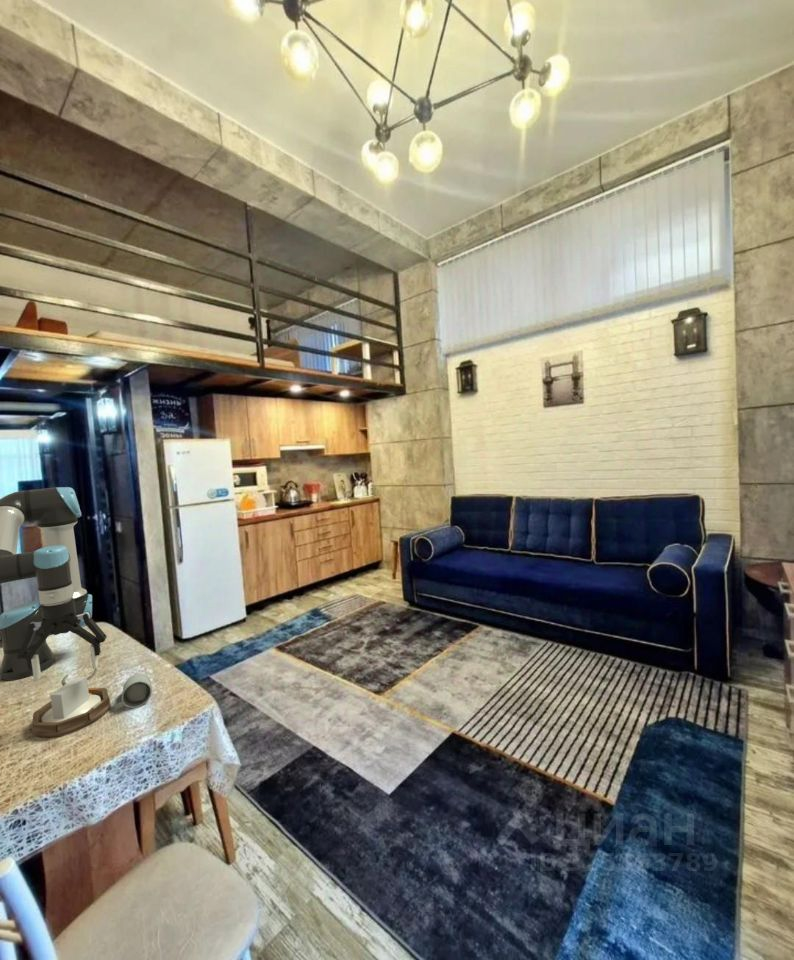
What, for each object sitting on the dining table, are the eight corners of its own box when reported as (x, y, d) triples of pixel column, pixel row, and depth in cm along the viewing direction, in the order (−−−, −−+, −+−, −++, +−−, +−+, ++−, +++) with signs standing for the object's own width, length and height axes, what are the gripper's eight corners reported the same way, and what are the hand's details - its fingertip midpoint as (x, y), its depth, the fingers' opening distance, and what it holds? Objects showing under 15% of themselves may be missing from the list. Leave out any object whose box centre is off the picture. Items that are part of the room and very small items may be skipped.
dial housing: (34, 716, 124) (32, 704, 124) (107, 691, 135) (106, 679, 135) (30, 748, 110) (28, 734, 110) (113, 717, 121) (111, 704, 121)
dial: (75, 727, 115) (71, 699, 115) (28, 728, 116) (24, 700, 115) (112, 697, 129) (108, 671, 128) (69, 698, 130) (66, 673, 129)
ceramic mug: (152, 689, 134) (148, 666, 134) (153, 702, 127) (149, 678, 127) (112, 703, 129) (108, 679, 128) (111, 716, 122) (107, 691, 121)
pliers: (96, 665, 152) (97, 689, 136) (97, 667, 152) (97, 691, 136) (62, 675, 146) (59, 701, 130) (62, 677, 146) (59, 704, 130)
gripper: (-6, 615, 111) (6, 691, 113) (106, 596, 121) (115, 667, 123) (6, 605, 118) (17, 677, 120) (112, 588, 128) (120, 655, 130)
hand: (67, 672), depth 122 cm, fingers open, 13 cm apart
